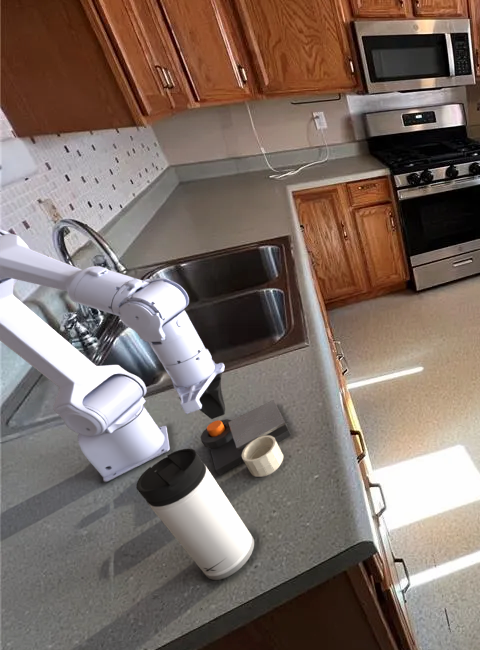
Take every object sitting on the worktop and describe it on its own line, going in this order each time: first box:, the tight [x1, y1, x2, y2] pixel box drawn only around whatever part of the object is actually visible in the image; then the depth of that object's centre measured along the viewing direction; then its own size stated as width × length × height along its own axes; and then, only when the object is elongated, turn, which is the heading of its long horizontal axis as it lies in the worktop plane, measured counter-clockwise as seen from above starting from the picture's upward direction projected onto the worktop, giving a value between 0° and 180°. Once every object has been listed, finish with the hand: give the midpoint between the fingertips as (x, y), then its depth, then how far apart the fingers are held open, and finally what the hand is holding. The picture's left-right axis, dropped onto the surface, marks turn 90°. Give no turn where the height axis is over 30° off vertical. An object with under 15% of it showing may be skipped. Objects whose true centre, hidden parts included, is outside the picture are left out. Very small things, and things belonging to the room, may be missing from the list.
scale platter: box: [228, 399, 287, 450], centre depth 77 cm, size 8×8×1 cm
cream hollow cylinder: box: [242, 436, 284, 478], centre depth 72 cm, size 5×5×4 cm
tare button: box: [206, 419, 225, 437], centre depth 77 cm, size 2×2×2 cm
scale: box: [199, 418, 292, 476], centre depth 78 cm, size 13×11×3 cm
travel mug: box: [135, 448, 255, 581], centre depth 55 cm, size 6×7×20 cm
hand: (218, 414), depth 72 cm, fingers closed
